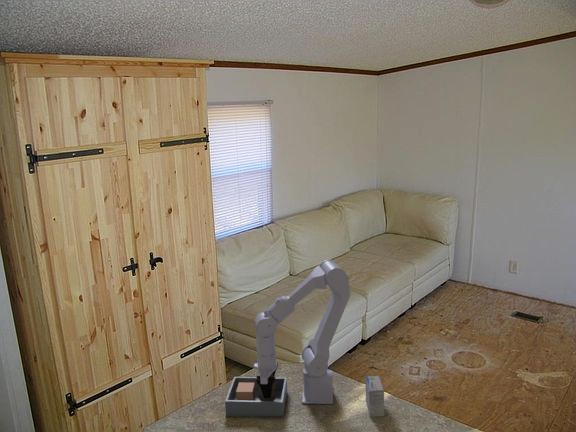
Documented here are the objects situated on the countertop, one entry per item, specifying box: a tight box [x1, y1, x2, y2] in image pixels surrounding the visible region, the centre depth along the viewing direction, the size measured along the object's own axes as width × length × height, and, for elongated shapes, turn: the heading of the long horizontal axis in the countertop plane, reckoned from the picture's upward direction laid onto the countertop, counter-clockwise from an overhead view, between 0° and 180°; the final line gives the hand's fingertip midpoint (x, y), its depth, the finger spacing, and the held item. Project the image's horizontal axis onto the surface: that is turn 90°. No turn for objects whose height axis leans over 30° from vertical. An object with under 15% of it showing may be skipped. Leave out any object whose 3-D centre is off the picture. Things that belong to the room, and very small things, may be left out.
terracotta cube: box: [236, 382, 255, 401], centre depth 143 cm, size 5×5×5 cm
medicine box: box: [365, 375, 385, 418], centre depth 137 cm, size 8×4×9 cm, turn 179°
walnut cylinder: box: [259, 374, 276, 401], centre depth 141 cm, size 5×5×7 cm
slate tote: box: [224, 376, 288, 419], centre depth 142 cm, size 17×13×5 cm
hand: (268, 392), depth 142 cm, fingers closed on walnut cylinder, 5 cm apart
